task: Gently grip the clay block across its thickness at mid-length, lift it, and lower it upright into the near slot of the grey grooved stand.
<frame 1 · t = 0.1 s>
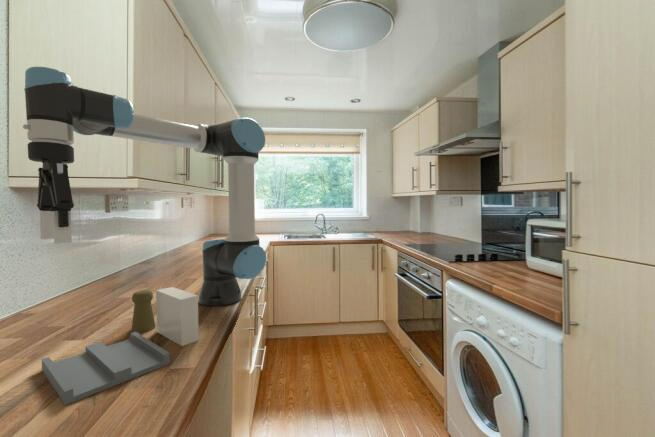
hand: (55, 240, 68), 28 cm above the table, fingers open, 13 cm apart
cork: (143, 329, 90), on the table
grey grooved stand: (107, 367, 68), on the table
clay block: (177, 336, 85), on the table
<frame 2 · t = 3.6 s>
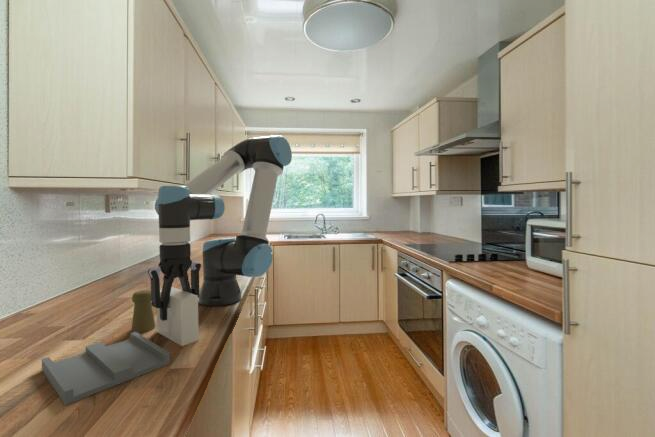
hand: (177, 327, 85), 2 cm above the table, fingers closed on clay block, 4 cm apart
clay block: (177, 336, 85), on the table, touching gripper
everything else where it was.
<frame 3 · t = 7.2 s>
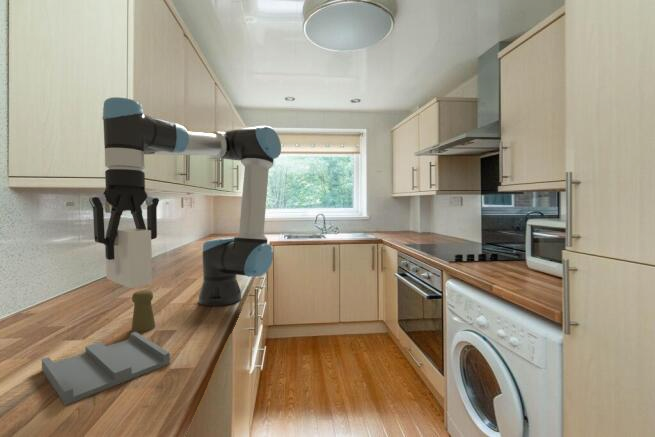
hand: (128, 271, 71), 21 cm above the table, fingers closed on clay block, 4 cm apart
clay block: (128, 281, 71), point 18 cm above the table, touching gripper
everything else where it was.
when the fingers open (4 cm above the table, at t = 10.5 s): clay block stays where it is, resting on grey grooved stand.
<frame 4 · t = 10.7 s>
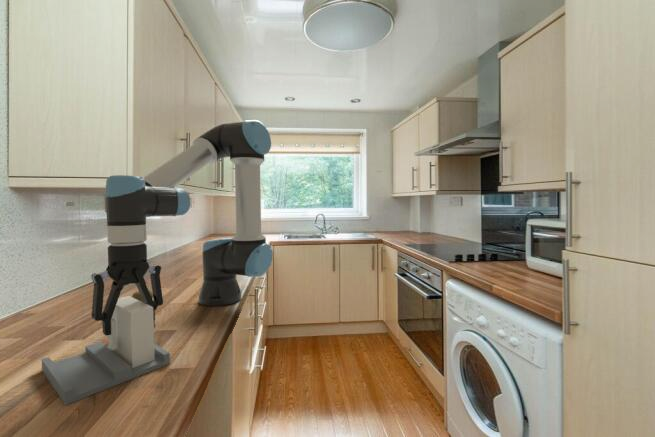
hand: (130, 341, 72), 4 cm above the table, fingers open, 7 cm apart
clay block: (131, 354, 72), point 1 cm above the table, touching grey grooved stand
everything else where it was.
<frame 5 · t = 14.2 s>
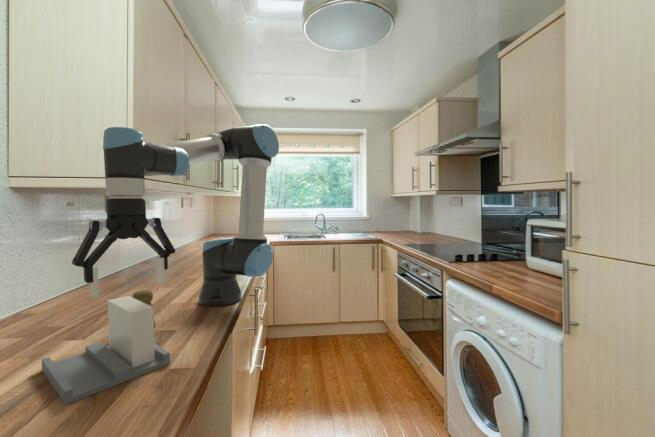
hand: (130, 289, 72), 16 cm above the table, fingers open, 13 cm apart
nothing on the table moved.
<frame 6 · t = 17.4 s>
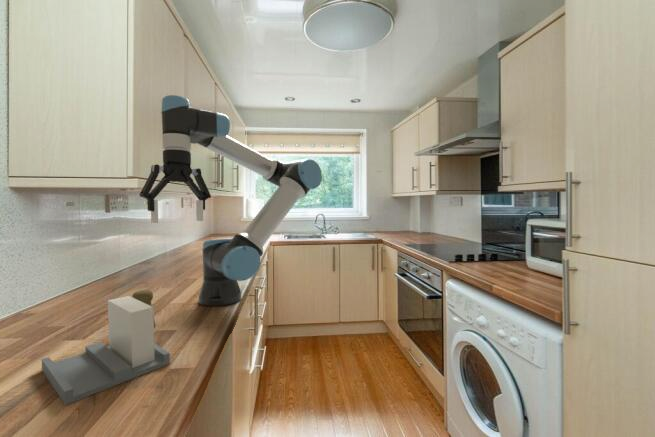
hand: (178, 221, 93), 31 cm above the table, fingers open, 13 cm apart
nothing on the table moved.
at the end: clay block 0.0 cm from the target spot on the grey grooved stand, point 1.0 cm above the grey grooved stand's base; clay block tilted 0°; the gripper is holding nothing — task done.
